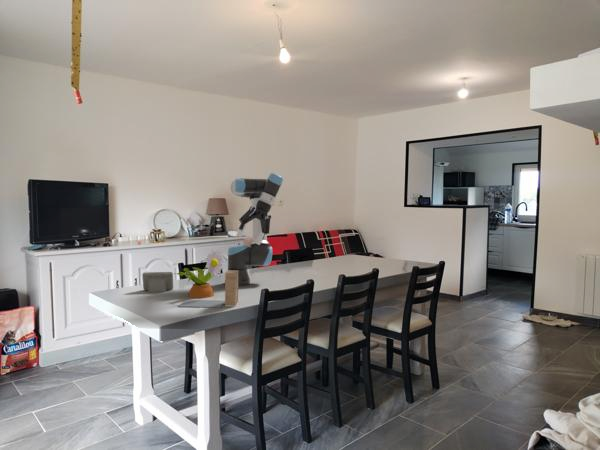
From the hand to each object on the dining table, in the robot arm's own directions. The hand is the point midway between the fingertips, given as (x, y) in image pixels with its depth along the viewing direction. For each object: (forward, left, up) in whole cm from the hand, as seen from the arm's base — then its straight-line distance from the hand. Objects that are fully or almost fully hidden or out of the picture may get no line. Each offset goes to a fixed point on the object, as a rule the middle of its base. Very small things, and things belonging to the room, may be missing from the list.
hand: (248, 240), depth 219 cm
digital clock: (-15, -52, -30) cm, 62 cm away
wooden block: (+13, -6, -30) cm, 33 cm away
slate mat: (+13, -20, -30) cm, 39 cm away
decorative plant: (-7, -26, -30) cm, 41 cm away
